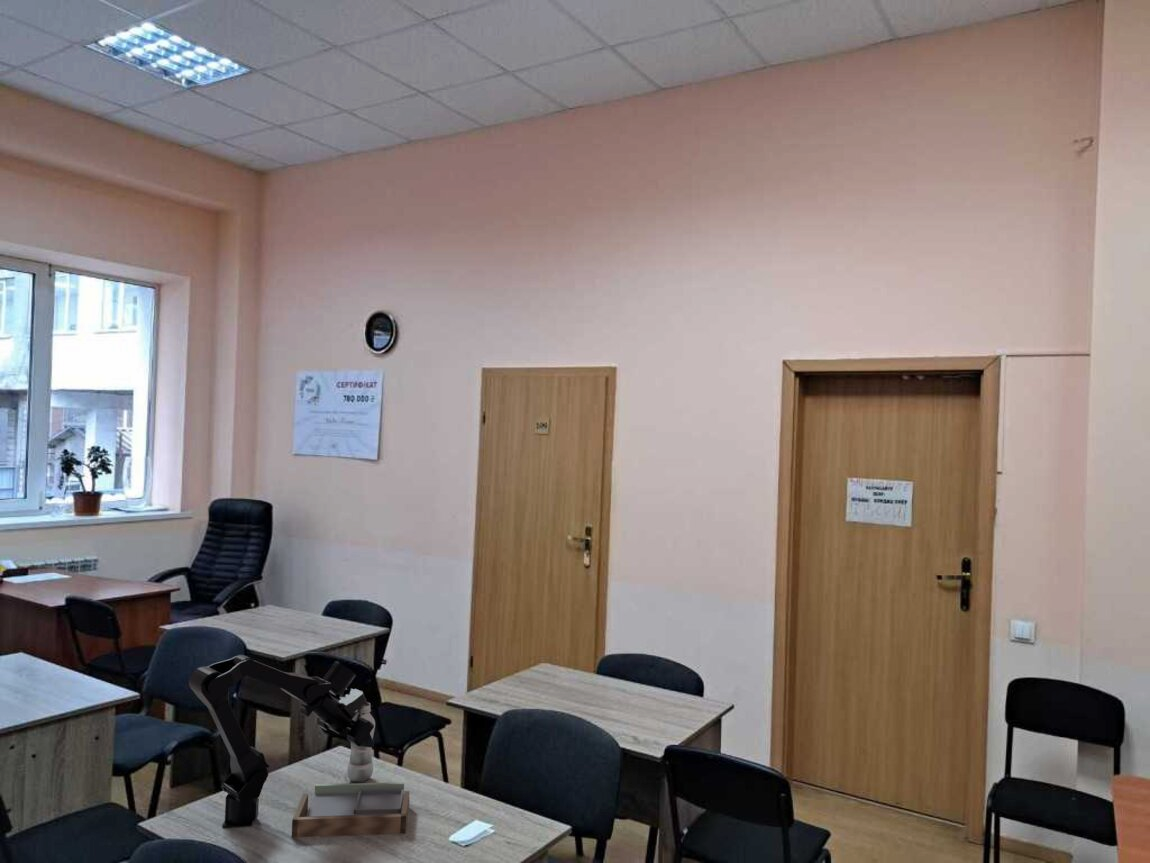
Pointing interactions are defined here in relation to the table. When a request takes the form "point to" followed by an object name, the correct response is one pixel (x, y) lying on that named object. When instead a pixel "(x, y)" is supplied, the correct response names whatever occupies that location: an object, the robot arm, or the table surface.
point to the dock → (348, 822)
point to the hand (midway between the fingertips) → (363, 740)
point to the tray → (357, 799)
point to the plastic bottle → (361, 751)
